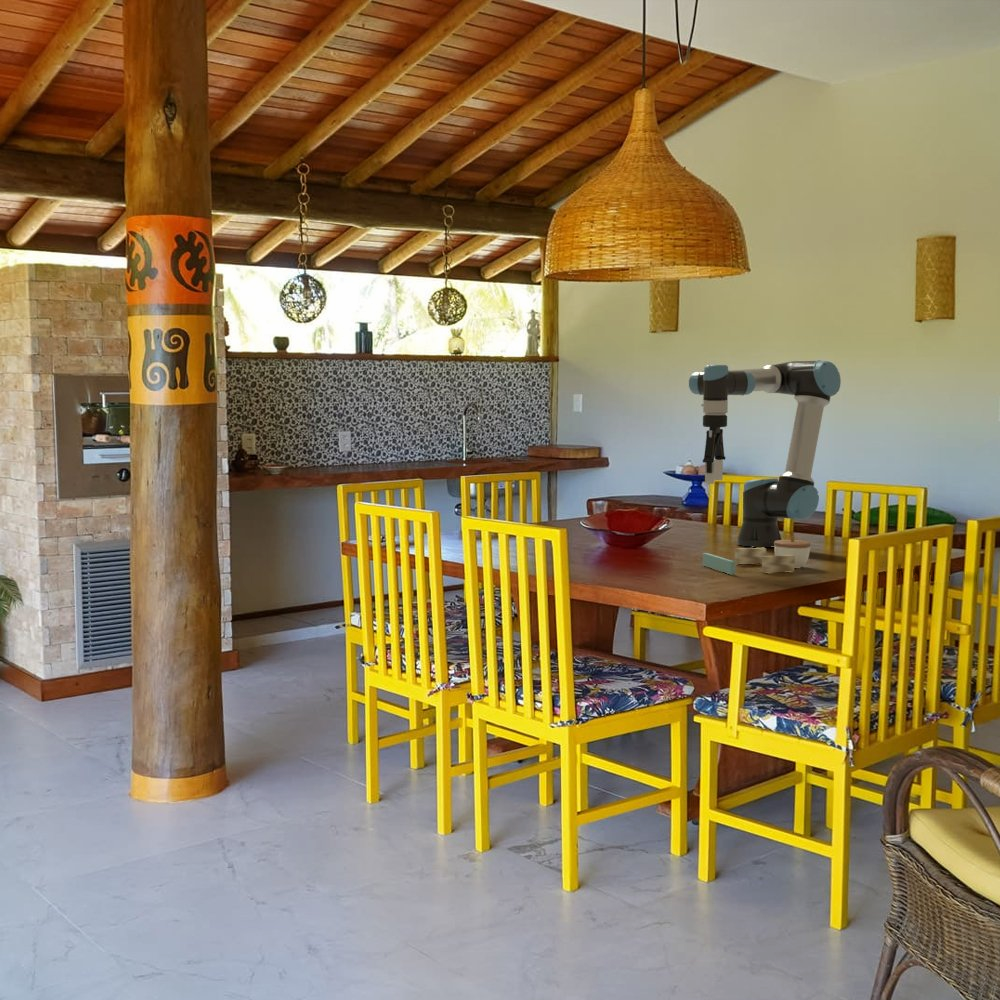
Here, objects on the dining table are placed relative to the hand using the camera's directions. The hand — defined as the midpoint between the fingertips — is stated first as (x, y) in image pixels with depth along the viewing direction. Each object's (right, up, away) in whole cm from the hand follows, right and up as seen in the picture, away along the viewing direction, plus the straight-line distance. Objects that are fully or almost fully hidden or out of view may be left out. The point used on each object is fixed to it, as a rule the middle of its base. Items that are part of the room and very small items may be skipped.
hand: (713, 482), depth 367 cm
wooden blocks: (+12, -26, -15) cm, 33 cm away
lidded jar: (+21, -26, -12) cm, 36 cm away
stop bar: (-2, -27, -19) cm, 33 cm away
